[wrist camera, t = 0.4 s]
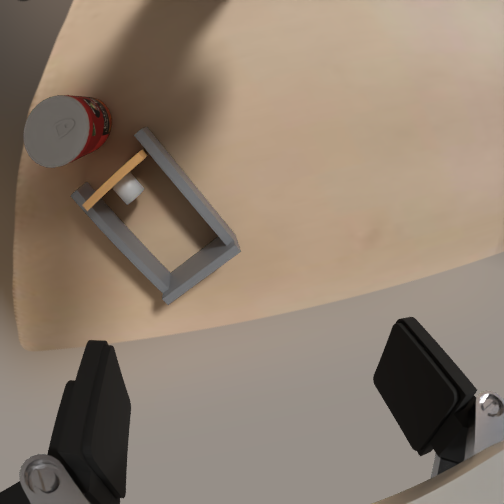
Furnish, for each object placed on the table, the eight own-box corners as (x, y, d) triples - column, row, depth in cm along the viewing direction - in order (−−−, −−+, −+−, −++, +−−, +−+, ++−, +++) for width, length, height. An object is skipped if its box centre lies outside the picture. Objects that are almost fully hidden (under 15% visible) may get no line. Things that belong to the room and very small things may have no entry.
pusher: (97, 190, 39) (82, 205, 33) (146, 145, 38) (138, 152, 32) (116, 211, 41) (103, 229, 35) (165, 168, 40) (160, 179, 34)
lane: (81, 187, 39) (66, 199, 33) (147, 126, 37) (139, 129, 32) (170, 283, 47) (168, 305, 42) (235, 234, 46) (241, 252, 41)
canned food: (124, 128, 37) (101, 134, 27) (80, 165, 38) (48, 183, 28) (93, 85, 33) (62, 79, 24) (50, 124, 34) (11, 131, 24)
